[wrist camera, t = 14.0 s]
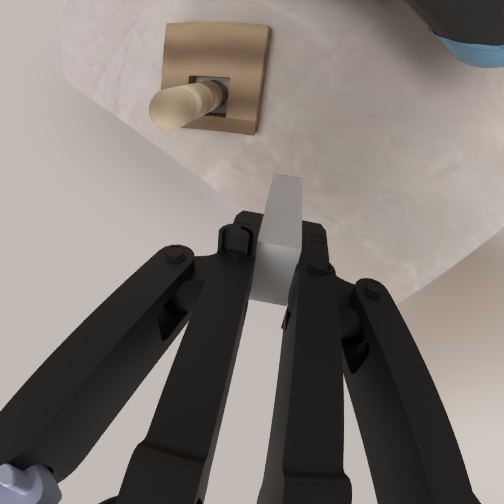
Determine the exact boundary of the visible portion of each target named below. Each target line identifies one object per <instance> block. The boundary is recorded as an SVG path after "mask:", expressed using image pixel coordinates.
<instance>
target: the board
mask: <svg viewBox="0 0 504 504" xmlns="http://www.w3.org/2000/svg"><path fill="white" fill-rule="evenodd" d="M269 35H270V27H269V26H268V25H260V24H248V23H229V22H187V23H169V24H166V33H165V43H164V54H163V67H162V83H161V90H163V89H167V88H172V87H177V86H182V85H187V84H193V83H195V79H196V76H214V77H229V78H230V82H229V92H228V101H227V111H226V114H222V113H212V112H209V113H207V114H205V115H203V116H201V117H199V118H197V119H195V120H193V121H192V122H190V123H188V124H186V125H184V126H183V127H181V128H191V129H203V130H213V131H222V132H231V133H239V134H246V135H253V136H254V134H255V133H256V131H257V124H258V117H259V109H260V101H261V94H262V86H263V79H264V71H265V64H266V57H267V49H268V42H269Z"/></svg>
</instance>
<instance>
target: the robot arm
mask: <svg viewBox="0 0 504 504" xmlns="http://www.w3.org/2000/svg"><path fill="white" fill-rule="evenodd" d="M403 1H404V2H405V3H406V4H407V5H408V6H409V7H410V8H411V9H412V10H413V11H414V12H415V13H416V14H417V15H418V16H419V18H420V19H421V20H422V21H423V22H424V23H425V24H426V25H427V26H428V29H429V31H430V32H431V33H432V34H433V35H434V36H435V37H437V38H438V39H439V40H440V41H441V42H442V43H443V44H444V45H445V46H446V47H447V49H448V50H449V51H450V52H451V53H452V54H453V55H454V56H455V57H456V58H457V59H459V60H461V61H462V62H464V63H466V64H468V65H471V66H475V67H482V68H496V67H504V0H403ZM249 299H251V300H257V301H262V302H268V303H273V304H279V305H285V306H286V305H287V301H288V306H287V310H286V313H285V316H284V320H283V323H282V326H281V328H282V329H283V337H282V346H281V355H280V363H279V372H278V381H277V388H276V396H275V403H274V411H273V418H272V425H271V432H270V439H269V447H268V453H267V459H266V465H265V472H264V478H263V483H262V486H261V489H260V492H259V496H258V500H257V504H351V503H352V485H351V482H350V479H349V477H348V476H347V475H346V474H345V473H344V470H343V452H344V451H343V450H344V392H343V391H344V388H343V374H344V378H345V381H346V384H347V388H348V391H349V394H350V398H351V401H352V405H353V408H354V412H355V415H356V418H357V422H358V426H359V430H360V433H361V437H362V440H363V445H364V448H365V452H366V456H367V460H368V464H369V468H370V472H371V476H372V480H373V485H374V489H375V493H376V498H377V502H378V504H481V503H480V502H479V500H478V499H477V497H476V496H475V495H474V493H473V492H472V488H471V485H470V481H469V478H468V474H467V471H466V468H465V464H464V461H463V458H462V455H461V452H460V449H459V446H458V443H457V440H456V438H455V435H454V432H453V429H452V426H451V424H450V421H449V419H448V416H447V413H446V411H445V408H444V406H443V403H442V401H441V399H440V396H439V394H438V391H437V389H436V387H435V385H434V382H433V380H432V378H431V375H430V373H429V371H428V369H427V366H426V364H425V362H424V360H423V358H422V356H421V354H420V352H419V350H418V347H417V345H416V343H415V341H414V339H413V337H412V335H411V333H410V331H409V329H408V327H407V325H406V323H405V321H404V320H403V318H402V316H401V314H400V312H399V310H398V308H397V306H396V304H395V303H394V301H393V299H392V297H391V295H390V293H389V292H388V290H387V289H386V288H385V286H384V285H382V284H381V283H380V282H378V281H376V280H373V279H369V278H363V279H360V280H358V281H357V282H356V284H355V285H354V284H351V283H349V282H347V281H344V280H343V279H341V278H339V277H338V276H336V272H335V269H334V267H333V266H332V265H331V264H330V263H329V254H328V245H327V236H326V230H325V229H324V228H323V226H322V225H321V224H318V223H313V222H308V221H302V178H297V177H292V176H286V175H281V174H275V173H274V175H273V179H272V183H271V187H270V191H269V195H268V199H267V204H266V208H265V212H264V214H260V213H254V212H248V211H242V212H240V213H239V214H238V215H236V217H235V220H234V223H233V224H227V225H225V226H223V227H222V228H221V229H220V230H219V239H218V251H217V253H216V254H213V255H209V256H194V252H193V251H192V250H191V249H190V248H188V247H186V246H182V245H170V246H166V247H164V248H162V249H161V250H159V251H158V252H157V253H156V254H155V255H154V256H153V257H151V258H150V259H149V260H148V261H147V262H146V263H145V264H144V265H143V266H141V268H139V269H138V270H137V271H136V272H135V273H134V274H133V275H132V276H130V277H129V278H128V279H127V280H126V281H125V282H124V283H123V284H122V285H121V286H120V287H119V288H118V289H116V290H115V291H114V292H113V293H112V294H111V295H110V296H109V297H108V298H107V299H106V300H105V301H104V302H103V303H102V304H101V305H100V306H99V307H98V308H97V309H96V310H95V311H94V312H92V313H91V314H90V315H89V316H88V317H87V318H86V319H85V320H84V321H83V322H82V323H81V324H80V325H79V327H77V328H76V329H75V330H74V331H73V332H72V333H71V335H69V336H68V338H67V339H66V340H65V341H64V342H63V343H62V344H61V345H60V346H59V347H58V348H57V349H56V350H55V351H54V352H53V353H52V354H51V355H50V356H49V357H48V358H47V359H46V361H45V362H44V363H43V364H42V365H41V366H40V367H39V368H38V369H37V371H35V372H34V374H33V375H32V376H31V377H30V378H29V379H28V380H27V381H26V382H25V384H24V385H23V386H22V387H21V388H20V390H18V392H17V393H16V394H15V395H14V396H13V397H12V399H11V400H10V401H9V402H8V403H7V404H6V406H5V407H4V408H3V409H2V411H0V504H58V502H60V500H61V499H62V494H61V491H60V489H59V486H58V483H59V482H61V481H62V480H64V479H65V478H66V477H67V476H69V475H70V474H71V473H72V472H73V471H74V470H75V469H76V468H77V467H78V466H79V464H80V463H81V462H82V461H83V460H84V458H85V457H86V456H87V455H88V453H89V452H90V450H91V449H92V447H93V446H94V445H95V444H96V442H97V441H98V440H99V438H100V437H101V435H102V434H103V433H104V432H105V430H106V429H107V428H108V426H109V425H110V424H111V422H112V421H113V420H114V418H115V417H116V416H117V414H118V413H119V412H120V411H121V409H122V408H123V407H124V405H125V404H126V402H127V401H128V400H129V399H130V397H131V396H132V395H133V393H134V392H135V391H136V389H137V388H138V387H139V385H140V384H141V383H142V381H143V380H144V379H145V377H146V376H147V375H148V374H149V372H150V371H151V370H152V368H153V367H154V366H155V364H156V363H157V362H158V360H159V359H160V358H161V356H162V355H163V354H164V353H165V351H166V350H167V349H168V347H169V346H170V345H171V343H172V342H173V341H174V339H175V338H176V337H177V336H178V334H179V333H180V332H181V330H182V329H183V328H184V326H185V325H186V324H187V323H188V321H189V323H188V325H187V328H186V330H185V333H184V336H183V338H182V341H181V343H180V346H179V349H178V351H177V354H176V357H175V359H174V362H173V365H172V367H171V370H170V373H169V375H168V378H167V381H166V384H165V386H164V389H163V392H162V394H161V397H160V400H159V402H158V405H157V408H156V411H155V414H154V417H153V419H152V422H151V425H150V428H149V431H148V433H147V436H146V437H145V439H144V440H143V441H142V442H141V443H139V444H138V445H137V447H136V448H135V450H134V452H133V454H132V457H131V459H130V461H129V464H128V467H127V470H126V473H125V476H124V479H123V483H122V485H121V488H120V491H119V494H118V496H115V497H112V498H109V499H107V500H105V501H103V502H101V503H99V504H203V502H204V499H205V494H206V490H207V485H208V479H209V474H210V470H211V465H212V461H213V457H214V452H215V448H216V444H217V440H218V435H219V431H220V427H221V422H222V418H223V414H224V409H225V405H226V401H227V396H228V392H229V387H230V383H231V378H232V374H233V370H234V365H235V361H236V356H237V352H238V348H239V343H240V339H241V334H242V330H243V325H244V320H245V316H246V312H247V306H248V300H249Z"/></svg>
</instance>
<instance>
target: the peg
mask: <svg viewBox="0 0 504 504" xmlns="http://www.w3.org/2000/svg"><path fill="white" fill-rule="evenodd" d="M227 98H228V90H227V88H226V86H225V85H224V84H223V83H221V82H220V81H216V80H211V81H203V82H199V83H193V84H187V85H182V86H177V87H172V88H167V89H163V90H161V91H159V92H158V93H157V94H155V96H154V97H153V98H152V100H151V102H150V106H149V113H150V117H151V119H152V121H153V123H154V124H155V125H156V126H157V127H159V128H160V129H163V130H166V131H173V130H177V129H179V128H181V127H183V126H184V125H186V124H188V123H190V122H192V121H193V120H195V119H197V118H199V117H201V116H203V115H205V114H207V113H209V112H211V111H213V110H215V109H217V108H219V107H221V106H222V105H223V104H224V103H225V102H226V100H227Z"/></svg>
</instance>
